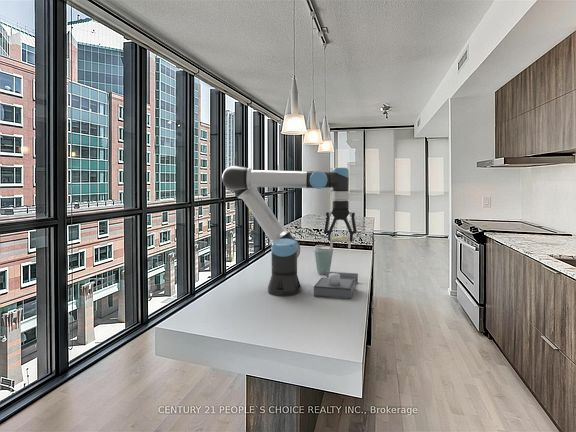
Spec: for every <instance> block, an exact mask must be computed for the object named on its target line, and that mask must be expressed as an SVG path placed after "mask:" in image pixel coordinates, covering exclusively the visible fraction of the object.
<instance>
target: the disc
mask: <svg viewBox="0 0 576 432" xmlns="http://www.w3.org/2000/svg"><path fill="white" fill-rule="evenodd" d="M332 241H333V242H336V243H339V242H348V235H347V236H345V235H334V236H333V237H332Z"/></svg>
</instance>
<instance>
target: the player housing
mask: <svg viewBox="0 0 576 432" xmlns="http://www.w3.org/2000/svg"><path fill="white" fill-rule="evenodd" d="M355 291H356V282H355V280H350V279H340V274H338V273H330V274H329V278H327V277H320V279H318V281H317V282H316V283H315V284H314V286H313V297H316V298H317V297H319V298H329V299H330V298H331V299H341V300H342V299H343V300H344V299H345V300H352V297H353V296H354V293H355Z"/></svg>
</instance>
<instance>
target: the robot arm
mask: <svg viewBox="0 0 576 432" xmlns="http://www.w3.org/2000/svg"><path fill="white" fill-rule="evenodd" d="M221 181H222V183H223V186H225V188H226V189H228V190H230V191H232V192H233V193H234V194H235V196H236V198H237V199H241V200H242V201H243V202H244V204H245V206H246V207H247V209H249V211H250V213H251V214H252V216H253V218H254V219H255V220H256V221H257V224H259V227H261V229H262V231H263V232H264V233H265V235H266V236H267V238H268V239H269V243H268V245H269V246H270V250H271V276H270V279H269V282H268V285H267V292H268V294H271V295H273V296H278V297H279V296H280V297H284V296H285V297H287V296H296V295H298V294H301V292H302V285H301V282H300V280H299V277H298V258H299V257H300V253H301V245H300V243H299V242H298V240H297V239H295V237H293V235H292V233H291V232H290V231H289V230H285V229H284V227H283V226H282V224H281V223H280V222H279V220H278V218H277V217H276V215H275V214H274V212H273V211H272V209H271V208H270V207H269V205H268V203H267V202H266V201H265V199H264V198H263V197H262V195H261V193H260V192H259V190H258V188H285V189H287V188H290V189H291V188H292V189H294V188H297V189H317V190H318V189H319V190H321V189H326V188H327V189H331V188H332V209H331V211H327V212H326V213H325V217H326V219H325V225H324V230H323V232H324V233H325V234H327V240H328V241H329V247H330V248H333V246H334V245H333V244H334V243H333V242H334V241H332V237H333V235H334V234H333V233H332V232H333V230H334V227H335V226H336V223H337V221H344V223H345V225H346V228H347V231H348V233H349V234H348V235H347V237H348V241H347V243H348V244H347V249H351V247H352V246H351V245H352V244H351V243H352V242H353V240H354V235H355V234H357V232H358V231H357V224H356V219H355V217H356V212H351V211H350V208H349V206H350V205H349V203H350V202H349V198H350V196H349V195H350V194H349V193H350V191H349V189H350V188H349V186H350V182H349V181H350V175H349V169H348V168H347V167H333V168H332V171H322V170H315V171H314V170H312V171H311V170H310V171H308V170H274V169H273V170H272V169H271V170H268V169H267V170H265V169H264V170H263V169H262V170H261V169H260V170H259V169H252V168H251V167H245V166H241V165H230V166H228V167H227V168H226V169H224V171H223V173H222V176H221ZM331 216H332V217H334V218H333V220H332V222H331V224H330V218H331ZM348 216H350V218H351V224H352V227H351V225H350V223H349V220H348ZM329 225H330V227H329Z"/></svg>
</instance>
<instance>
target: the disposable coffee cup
mask: <svg viewBox="0 0 576 432" xmlns="http://www.w3.org/2000/svg"><path fill="white" fill-rule="evenodd" d="M313 251H314V258H315V259H314V260H315V264H316V265H315V266H316V271H317V274H319V275H327V271H328V272H331V266H332V258H333V254H334V248H333V247H332V248H330V245H320V244H318V245H315V246H314V249H313Z"/></svg>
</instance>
